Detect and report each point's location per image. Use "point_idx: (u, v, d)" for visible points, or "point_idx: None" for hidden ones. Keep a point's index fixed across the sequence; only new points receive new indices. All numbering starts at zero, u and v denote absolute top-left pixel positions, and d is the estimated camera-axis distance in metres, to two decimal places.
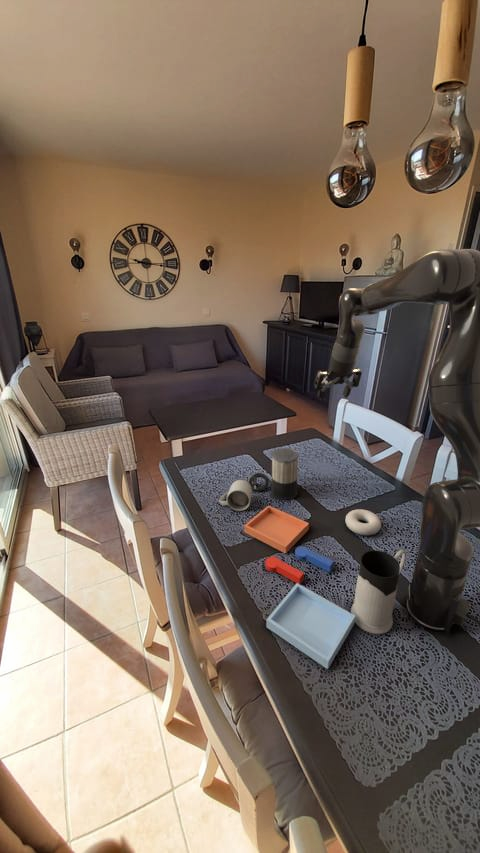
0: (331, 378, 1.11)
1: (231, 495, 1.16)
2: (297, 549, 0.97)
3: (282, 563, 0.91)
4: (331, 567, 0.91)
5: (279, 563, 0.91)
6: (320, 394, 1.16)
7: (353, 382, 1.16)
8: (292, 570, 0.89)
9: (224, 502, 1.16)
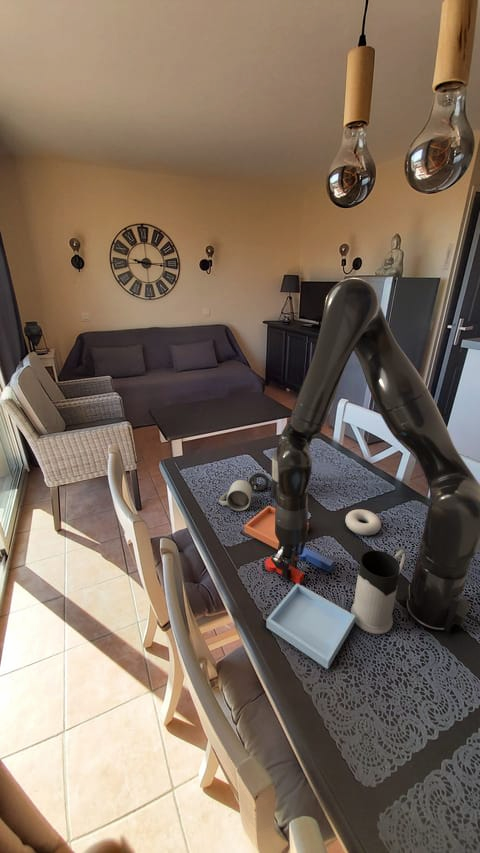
0: (288, 552, 0.84)
1: (231, 495, 1.16)
2: None
3: None
4: (331, 567, 0.91)
5: None
6: (287, 574, 0.88)
7: None
8: (292, 570, 0.89)
9: (224, 502, 1.16)
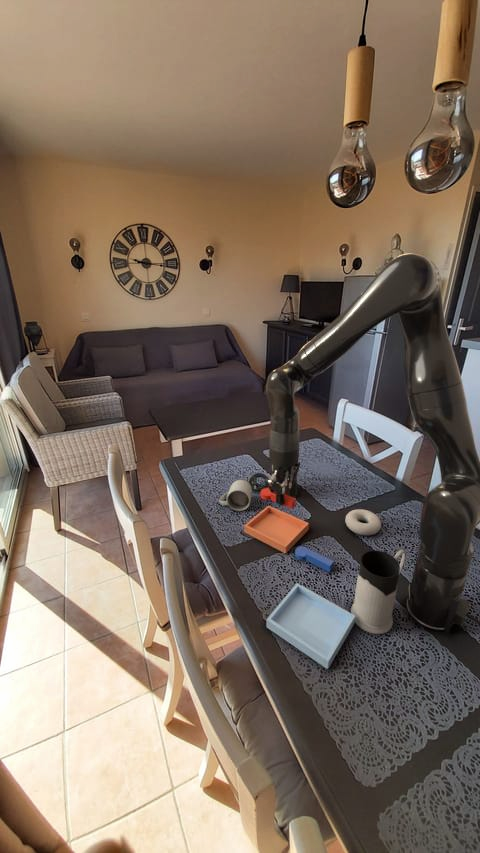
0: (281, 476, 0.91)
1: (231, 495, 1.16)
2: (297, 549, 0.97)
3: None
4: (331, 567, 0.91)
5: None
6: (281, 499, 0.95)
7: None
8: (285, 496, 0.96)
9: (224, 502, 1.16)
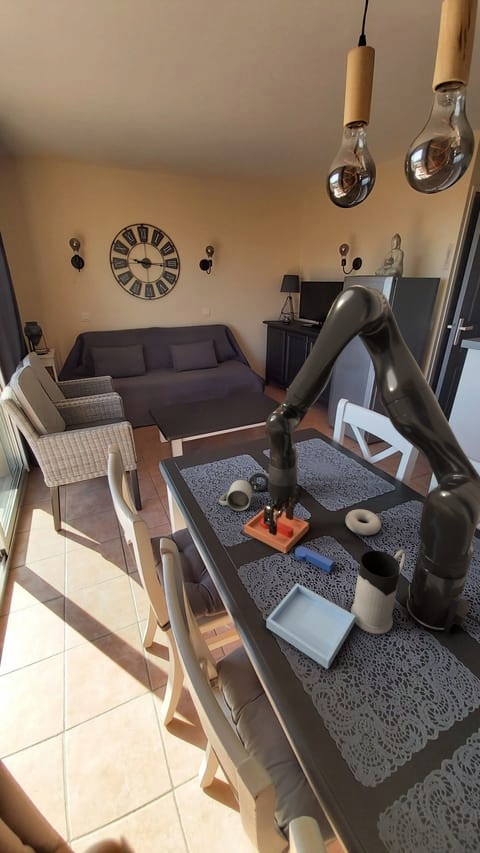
0: (279, 507, 0.98)
1: (231, 495, 1.16)
2: (297, 549, 0.97)
3: None
4: (331, 567, 0.91)
5: None
6: (273, 529, 0.99)
7: (292, 500, 1.06)
8: (283, 526, 1.03)
9: (224, 502, 1.16)
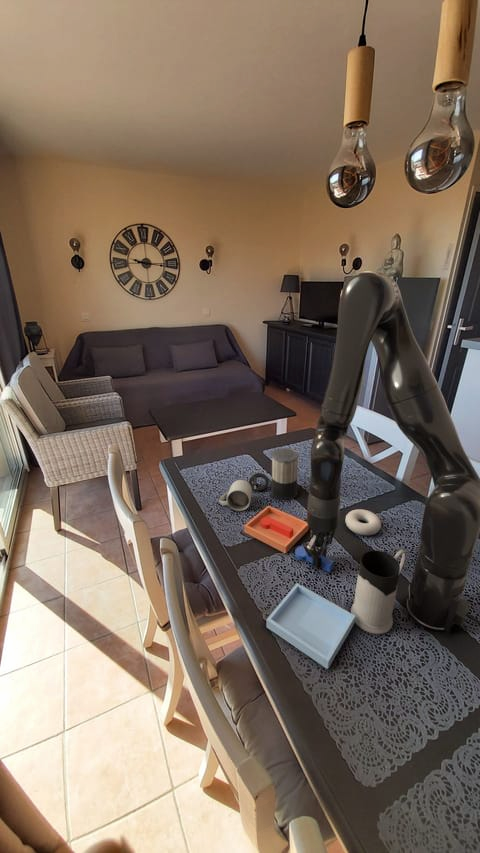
0: (320, 540, 0.87)
1: (231, 495, 1.16)
2: (297, 549, 0.97)
3: (275, 521, 1.05)
4: (331, 567, 0.91)
5: (272, 521, 1.05)
6: (318, 562, 0.91)
7: None
8: (283, 526, 1.03)
9: (224, 502, 1.16)
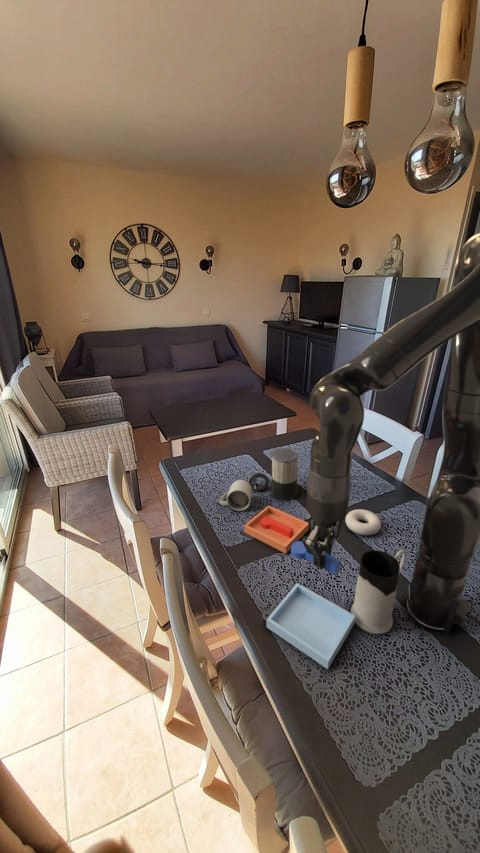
0: (323, 533, 0.66)
1: (231, 495, 1.16)
2: (294, 544, 0.76)
3: (275, 521, 1.05)
4: (337, 568, 0.70)
5: (272, 521, 1.05)
6: (321, 561, 0.70)
7: None
8: (283, 526, 1.03)
9: (224, 502, 1.16)
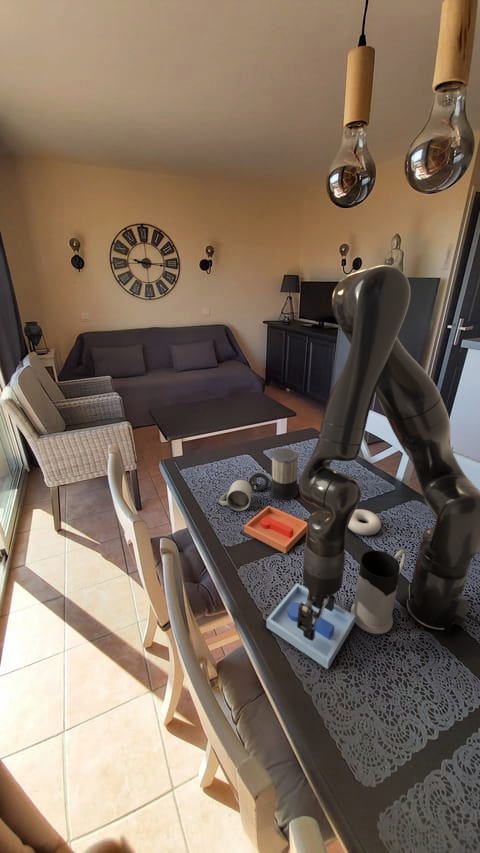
0: (319, 604, 0.69)
1: (231, 495, 1.16)
2: (290, 606, 0.80)
3: (275, 521, 1.05)
4: (331, 633, 0.74)
5: (272, 521, 1.05)
6: (310, 634, 0.70)
7: None
8: (283, 526, 1.03)
9: (224, 502, 1.16)
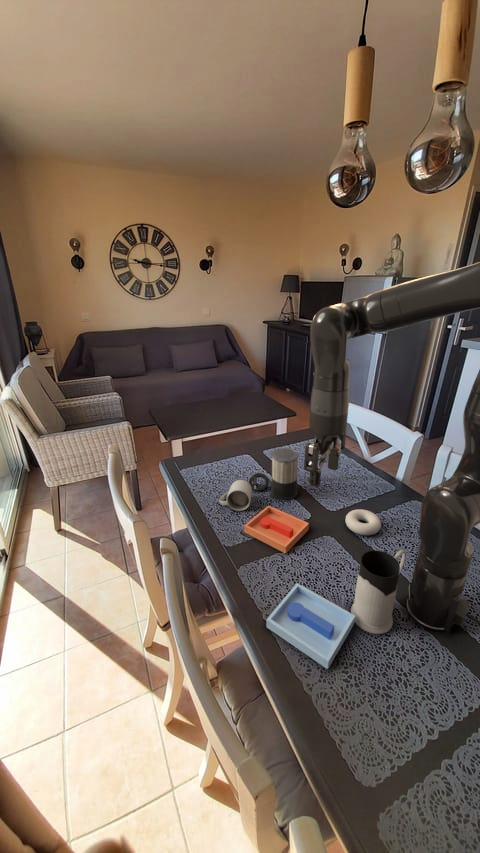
0: (325, 447, 0.74)
1: (231, 495, 1.16)
2: (290, 606, 0.80)
3: (275, 521, 1.05)
4: (331, 633, 0.74)
5: (272, 521, 1.05)
6: (316, 478, 0.75)
7: None
8: (283, 526, 1.03)
9: (224, 502, 1.16)
